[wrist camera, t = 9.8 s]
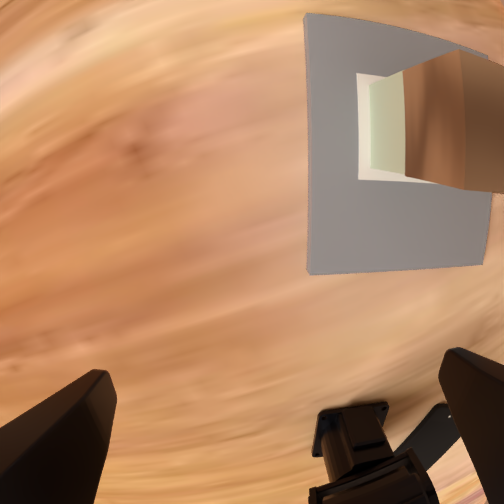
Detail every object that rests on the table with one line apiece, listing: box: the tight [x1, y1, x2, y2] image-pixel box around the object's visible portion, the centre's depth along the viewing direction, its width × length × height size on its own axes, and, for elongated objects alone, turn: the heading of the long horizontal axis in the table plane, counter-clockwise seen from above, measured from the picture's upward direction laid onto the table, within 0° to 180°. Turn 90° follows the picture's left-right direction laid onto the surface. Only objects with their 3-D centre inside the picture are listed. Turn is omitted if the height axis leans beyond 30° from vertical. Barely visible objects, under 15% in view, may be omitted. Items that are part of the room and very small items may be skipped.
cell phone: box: [393, 403, 461, 471], centre depth 28 cm, size 9×18×1 cm, turn 158°
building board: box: [303, 13, 492, 275], centre depth 18 cm, size 16×14×1 cm
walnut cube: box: [402, 49, 504, 194], centre depth 10 cm, size 5×5×4 cm
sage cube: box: [369, 71, 405, 174], centre depth 15 cm, size 5×5×4 cm
